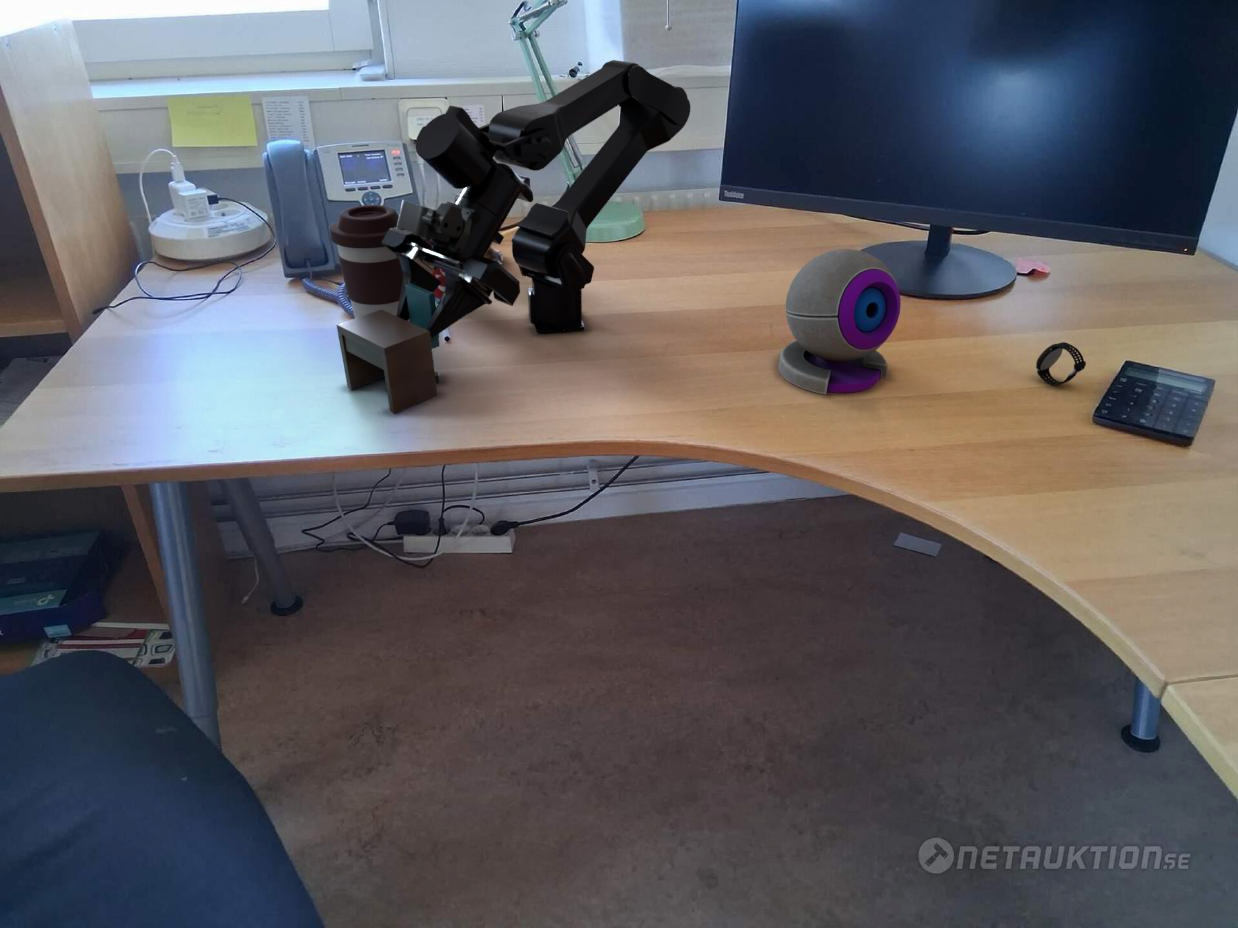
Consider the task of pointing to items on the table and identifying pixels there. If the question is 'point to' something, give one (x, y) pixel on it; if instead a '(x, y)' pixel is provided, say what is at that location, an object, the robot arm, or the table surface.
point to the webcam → (839, 322)
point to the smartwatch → (1052, 356)
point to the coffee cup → (368, 258)
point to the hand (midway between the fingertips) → (413, 328)
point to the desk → (389, 357)
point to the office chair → (422, 310)
